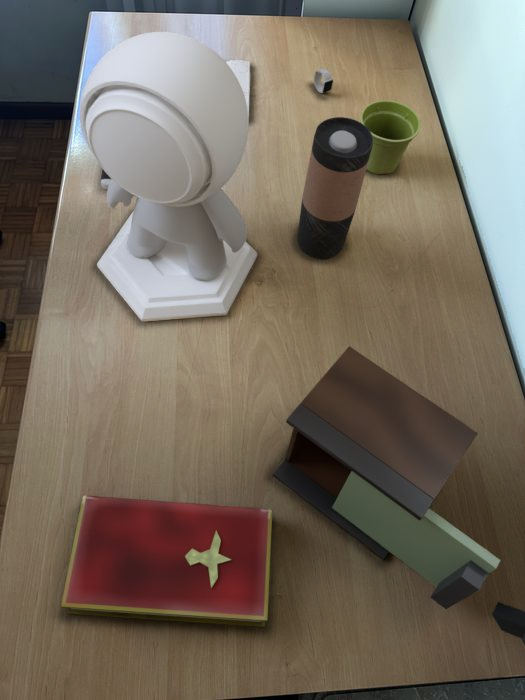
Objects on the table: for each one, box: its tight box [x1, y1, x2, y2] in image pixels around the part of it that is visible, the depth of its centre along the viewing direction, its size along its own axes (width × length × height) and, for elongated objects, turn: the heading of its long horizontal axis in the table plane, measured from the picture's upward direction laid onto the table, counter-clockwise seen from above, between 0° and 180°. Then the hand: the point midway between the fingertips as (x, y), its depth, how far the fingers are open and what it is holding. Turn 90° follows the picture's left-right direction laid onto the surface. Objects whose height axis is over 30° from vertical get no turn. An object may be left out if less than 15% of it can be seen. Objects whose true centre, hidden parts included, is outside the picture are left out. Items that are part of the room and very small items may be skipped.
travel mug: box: [296, 116, 373, 260], centre depth 92 cm, size 8×8×20 cm
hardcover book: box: [60, 494, 273, 628], centre depth 72 cm, size 12×21×4 cm, turn 87°
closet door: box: [332, 471, 502, 610], centre depth 69 cm, size 3×16×14 cm, turn 52°
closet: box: [272, 345, 479, 561], centre depth 74 cm, size 11×16×16 cm
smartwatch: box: [313, 68, 334, 94], centre depth 117 cm, size 4×2×4 cm, turn 32°
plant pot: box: [359, 99, 422, 175], centre depth 106 cm, size 9×9×9 cm
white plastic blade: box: [225, 59, 251, 120], centre depth 116 cm, size 5×15×1 cm, turn 179°
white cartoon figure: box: [79, 31, 258, 322], centre depth 81 cm, size 20×23×35 cm
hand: (500, 616), depth 66 cm, fingers closed
